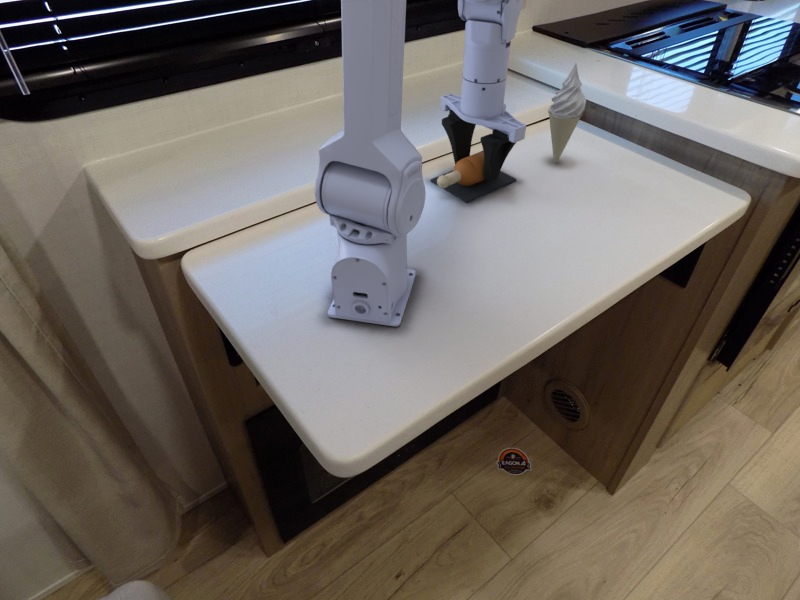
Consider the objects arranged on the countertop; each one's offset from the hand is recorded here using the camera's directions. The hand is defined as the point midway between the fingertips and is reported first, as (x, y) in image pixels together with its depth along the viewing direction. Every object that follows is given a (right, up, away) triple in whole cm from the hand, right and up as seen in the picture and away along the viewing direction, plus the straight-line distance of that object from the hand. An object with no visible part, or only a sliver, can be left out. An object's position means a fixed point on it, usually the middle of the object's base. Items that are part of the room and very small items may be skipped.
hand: (475, 171), depth 78 cm
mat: (0, -1, +1) cm, 2 cm away
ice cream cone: (+13, +3, +6) cm, 15 cm away
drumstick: (-1, -1, +1) cm, 2 cm away
